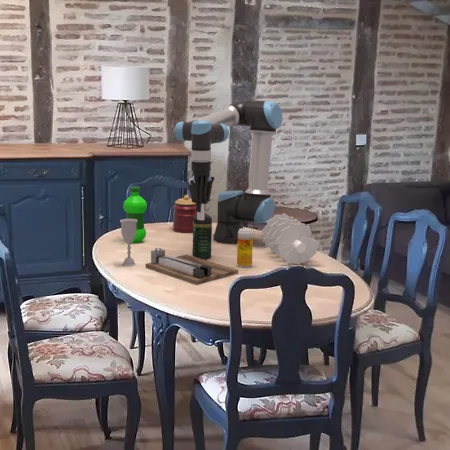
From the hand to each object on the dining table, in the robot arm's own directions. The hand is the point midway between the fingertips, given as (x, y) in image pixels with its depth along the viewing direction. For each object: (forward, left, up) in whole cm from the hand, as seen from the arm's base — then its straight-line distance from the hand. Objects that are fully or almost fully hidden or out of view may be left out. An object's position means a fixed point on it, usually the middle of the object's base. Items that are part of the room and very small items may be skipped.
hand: (200, 219), depth 274 cm
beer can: (-14, +12, -19) cm, 27 cm away
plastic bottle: (-5, -48, -19) cm, 52 cm away
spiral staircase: (-36, +17, -19) cm, 44 cm away
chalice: (+20, -20, -19) cm, 35 cm away
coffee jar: (-10, -9, -19) cm, 24 cm away
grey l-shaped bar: (+13, +2, -18) cm, 22 cm away
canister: (-38, -50, -19) cm, 66 cm away
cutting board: (+7, +3, -19) cm, 21 cm away
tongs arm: (+11, +5, -17) cm, 21 cm away
